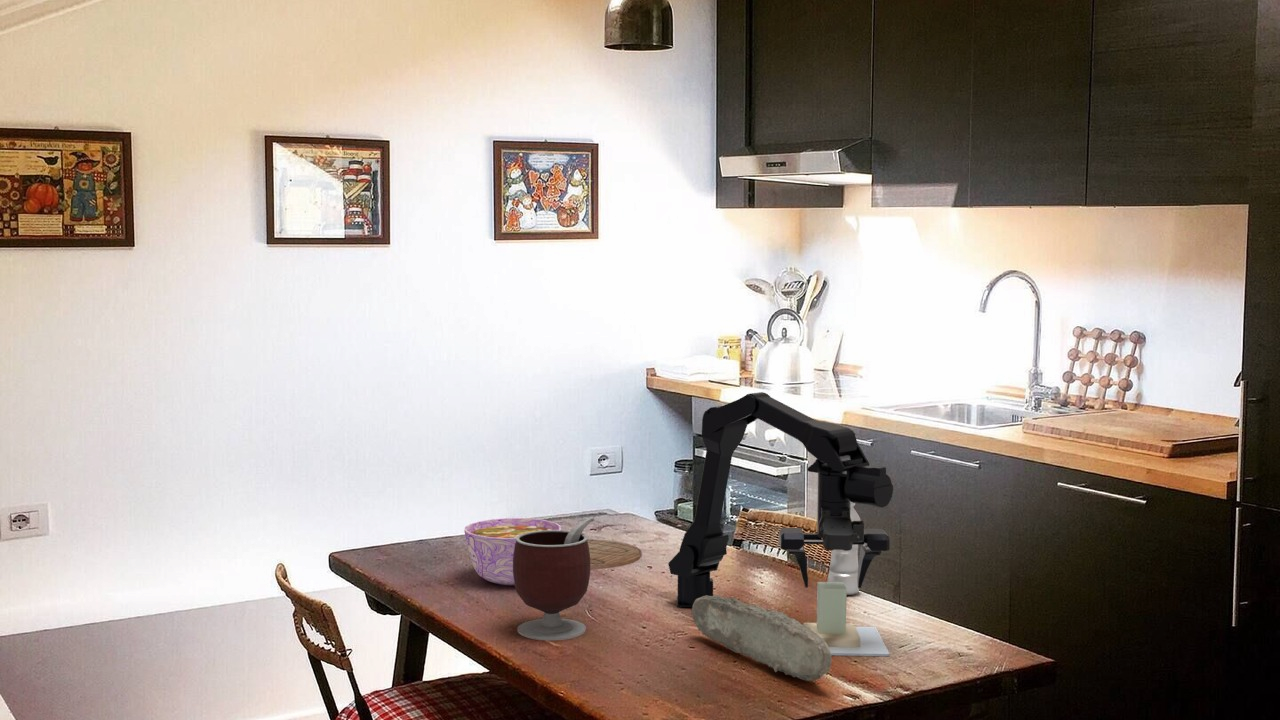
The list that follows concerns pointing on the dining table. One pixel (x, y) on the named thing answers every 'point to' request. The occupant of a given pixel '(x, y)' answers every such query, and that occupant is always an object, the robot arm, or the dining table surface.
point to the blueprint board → (864, 644)
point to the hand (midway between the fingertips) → (832, 587)
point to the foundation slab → (839, 636)
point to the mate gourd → (552, 579)
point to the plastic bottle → (846, 563)
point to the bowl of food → (499, 545)
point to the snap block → (831, 607)
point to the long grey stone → (763, 636)
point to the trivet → (612, 554)
